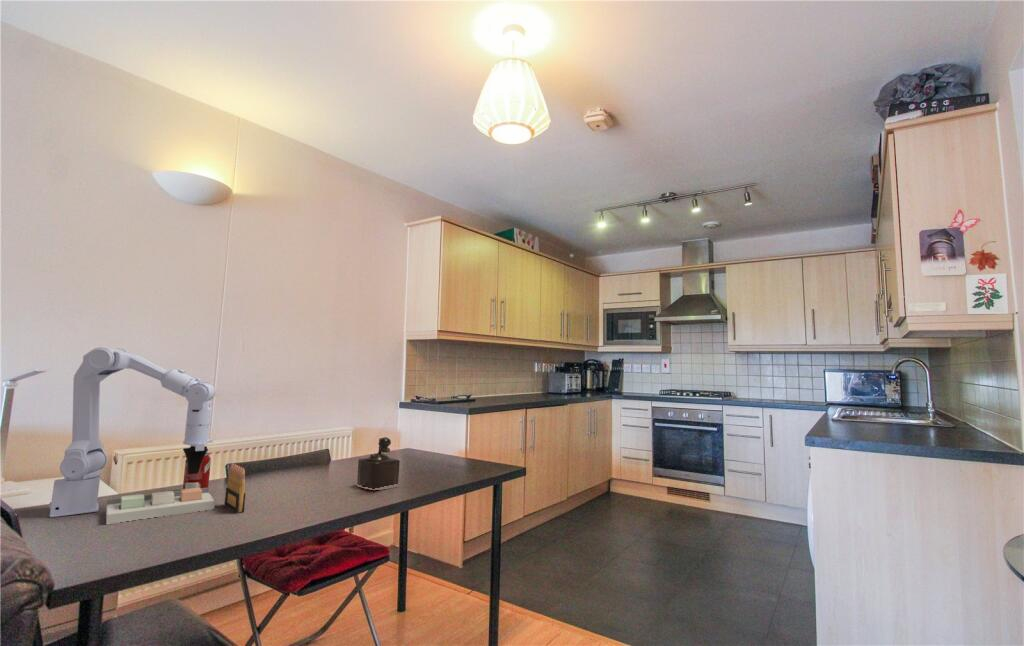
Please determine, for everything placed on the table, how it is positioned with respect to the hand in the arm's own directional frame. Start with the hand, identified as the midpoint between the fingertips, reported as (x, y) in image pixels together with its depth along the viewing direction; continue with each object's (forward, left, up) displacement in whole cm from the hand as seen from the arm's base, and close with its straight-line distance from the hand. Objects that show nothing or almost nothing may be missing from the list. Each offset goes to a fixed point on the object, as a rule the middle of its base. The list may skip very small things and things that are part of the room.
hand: (193, 473), depth 134 cm
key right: (0, 0, -8) cm, 8 cm away
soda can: (+3, +17, -10) cm, 20 cm away
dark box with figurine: (+53, -9, -10) cm, 55 cm away
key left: (-13, 0, -8) cm, 15 cm away
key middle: (-7, 0, -8) cm, 10 cm away
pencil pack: (+9, -8, -10) cm, 16 cm away
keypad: (-7, 0, -9) cm, 11 cm away
